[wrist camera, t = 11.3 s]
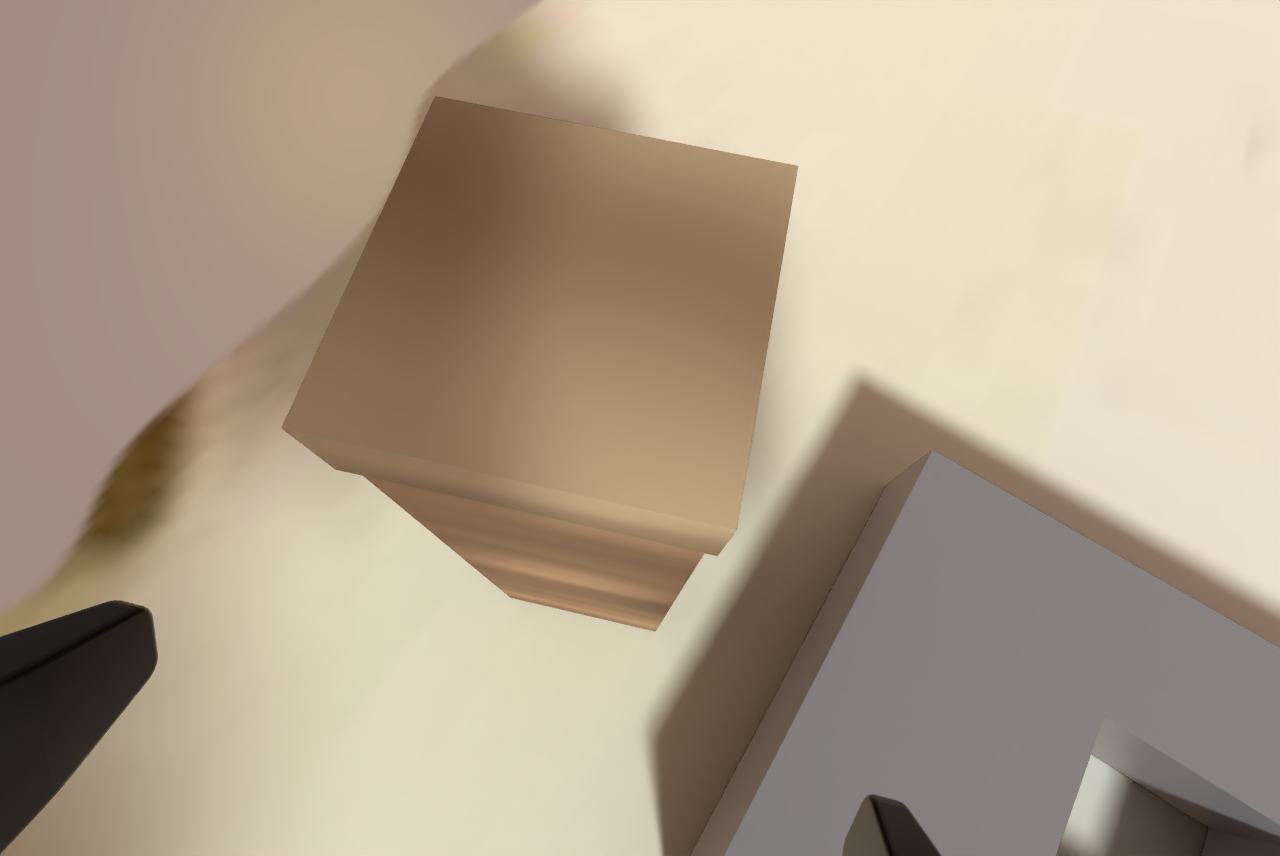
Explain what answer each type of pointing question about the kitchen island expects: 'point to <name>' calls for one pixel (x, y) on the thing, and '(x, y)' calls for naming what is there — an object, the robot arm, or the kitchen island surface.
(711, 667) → the kitchen island surface
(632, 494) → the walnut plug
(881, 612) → the socket board
